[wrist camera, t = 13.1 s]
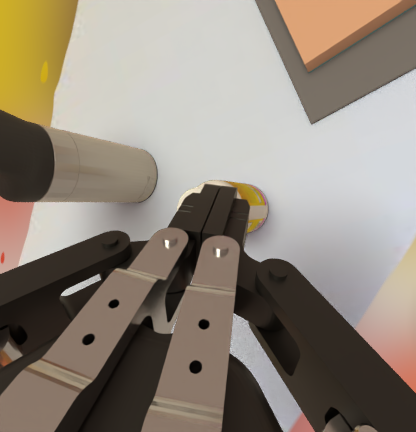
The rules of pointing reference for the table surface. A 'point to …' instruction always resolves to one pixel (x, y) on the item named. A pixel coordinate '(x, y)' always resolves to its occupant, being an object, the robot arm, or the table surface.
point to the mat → (345, 62)
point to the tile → (335, 24)
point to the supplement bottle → (243, 192)
